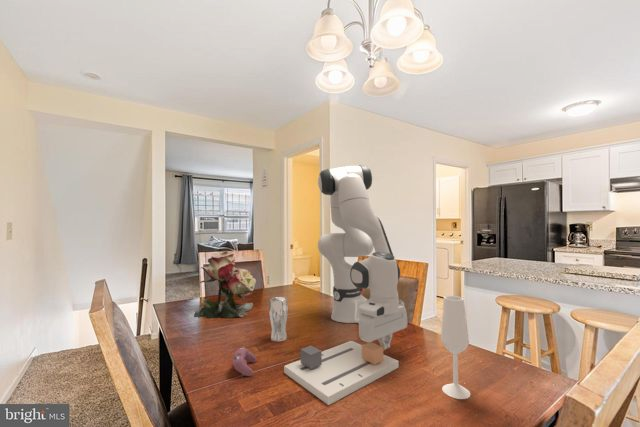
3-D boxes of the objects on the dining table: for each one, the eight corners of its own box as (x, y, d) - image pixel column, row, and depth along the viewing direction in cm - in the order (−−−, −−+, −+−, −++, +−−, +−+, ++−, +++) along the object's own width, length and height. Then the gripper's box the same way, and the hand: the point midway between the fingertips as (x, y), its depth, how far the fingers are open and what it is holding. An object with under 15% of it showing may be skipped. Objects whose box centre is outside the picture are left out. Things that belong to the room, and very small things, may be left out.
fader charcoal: (311, 358, 89) (311, 345, 89) (321, 364, 85) (321, 350, 85) (300, 362, 87) (300, 349, 87) (310, 369, 83) (310, 354, 83)
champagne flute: (462, 383, 79) (459, 294, 80) (476, 398, 72) (473, 301, 73) (437, 384, 79) (435, 295, 79) (449, 399, 72) (446, 301, 73)
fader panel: (351, 346, 104) (351, 340, 104) (398, 367, 88) (398, 360, 88) (284, 372, 86) (284, 365, 86) (328, 405, 70) (328, 396, 70)
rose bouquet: (252, 318, 136) (251, 253, 137) (189, 319, 136) (189, 254, 137) (262, 302, 162) (262, 248, 162) (210, 303, 161) (209, 249, 162)
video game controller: (245, 366, 93) (235, 347, 93) (258, 359, 94) (247, 340, 94) (239, 383, 83) (228, 362, 83) (253, 375, 84) (242, 354, 84)
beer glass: (284, 342, 107) (284, 301, 108) (266, 341, 109) (266, 301, 109) (290, 335, 114) (289, 297, 114) (273, 334, 115) (273, 296, 116)
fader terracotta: (370, 354, 91) (370, 341, 92) (383, 360, 88) (383, 346, 88) (361, 358, 89) (361, 345, 89) (374, 364, 85) (374, 350, 85)
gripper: (395, 296, 101) (396, 336, 101) (354, 308, 88) (355, 354, 88) (411, 300, 96) (412, 342, 96) (370, 313, 83) (371, 362, 83)
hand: (385, 348), depth 92 cm, fingers closed
